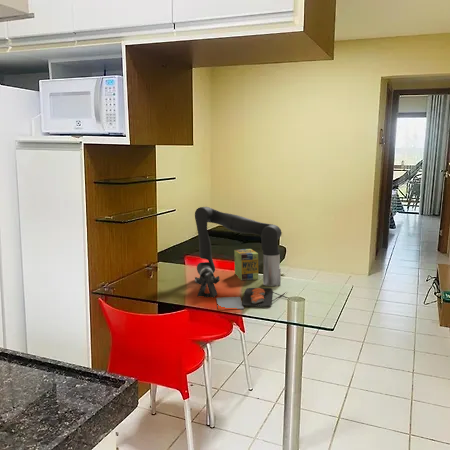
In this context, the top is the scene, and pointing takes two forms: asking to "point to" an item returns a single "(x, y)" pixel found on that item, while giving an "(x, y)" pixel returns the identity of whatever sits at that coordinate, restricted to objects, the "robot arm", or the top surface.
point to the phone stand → (211, 288)
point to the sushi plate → (259, 297)
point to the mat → (230, 302)
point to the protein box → (246, 264)
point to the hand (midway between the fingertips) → (207, 284)
